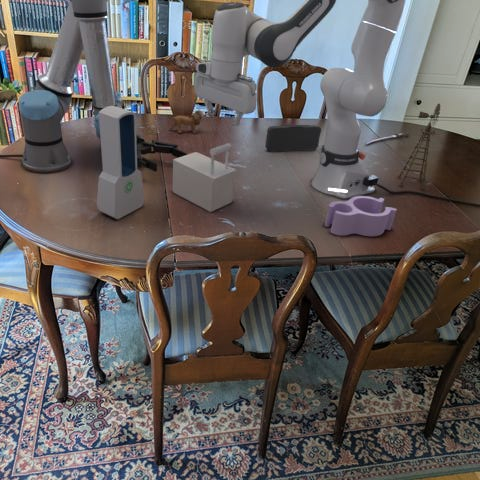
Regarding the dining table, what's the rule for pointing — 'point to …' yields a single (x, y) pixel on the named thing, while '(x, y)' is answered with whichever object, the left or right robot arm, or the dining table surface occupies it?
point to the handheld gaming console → (292, 137)
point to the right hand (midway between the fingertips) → (222, 120)
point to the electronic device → (119, 164)
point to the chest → (202, 189)
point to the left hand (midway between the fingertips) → (171, 162)
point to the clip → (359, 216)
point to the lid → (207, 164)
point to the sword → (385, 138)
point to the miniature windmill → (428, 131)
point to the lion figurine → (188, 121)
